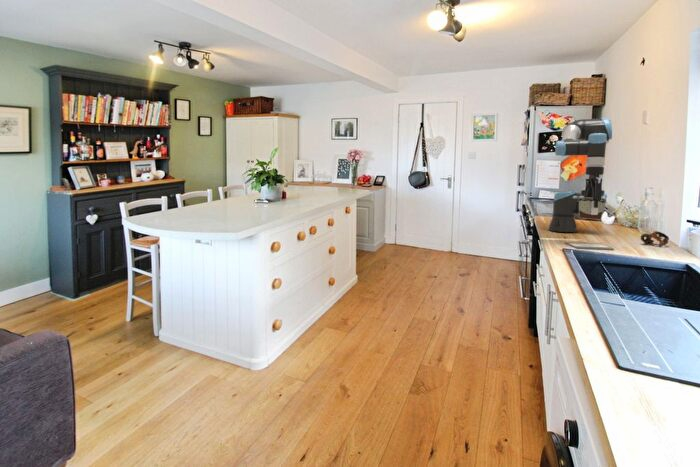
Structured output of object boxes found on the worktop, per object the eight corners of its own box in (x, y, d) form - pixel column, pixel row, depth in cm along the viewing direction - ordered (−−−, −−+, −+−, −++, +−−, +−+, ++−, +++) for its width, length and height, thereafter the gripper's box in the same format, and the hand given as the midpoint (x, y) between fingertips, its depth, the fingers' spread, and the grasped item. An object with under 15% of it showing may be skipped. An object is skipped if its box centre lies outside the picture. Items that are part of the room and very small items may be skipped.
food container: (606, 218, 207) (608, 198, 206) (604, 220, 203) (607, 199, 201) (577, 216, 215) (579, 196, 213) (575, 217, 210) (577, 197, 208)
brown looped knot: (656, 244, 223) (665, 232, 218) (664, 255, 215) (674, 242, 210) (633, 239, 223) (642, 226, 218) (640, 249, 215) (650, 236, 211)
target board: (564, 243, 220) (564, 242, 220) (598, 244, 217) (598, 243, 217) (577, 248, 202) (577, 247, 202) (613, 250, 199) (614, 248, 199)
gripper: (579, 167, 216) (575, 212, 218) (594, 165, 196) (590, 215, 198) (595, 167, 214) (591, 212, 217) (612, 165, 194) (608, 215, 197)
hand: (590, 214), depth 208 cm, fingers closed on food container, 7 cm apart
